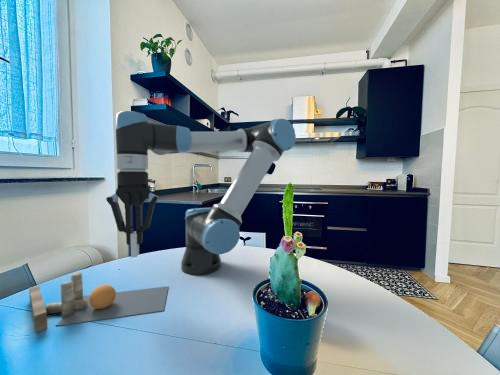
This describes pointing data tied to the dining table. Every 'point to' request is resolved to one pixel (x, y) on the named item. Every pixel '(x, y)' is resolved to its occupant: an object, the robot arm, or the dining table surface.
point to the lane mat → (122, 306)
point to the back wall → (38, 309)
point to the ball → (102, 297)
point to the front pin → (58, 307)
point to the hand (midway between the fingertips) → (135, 255)
